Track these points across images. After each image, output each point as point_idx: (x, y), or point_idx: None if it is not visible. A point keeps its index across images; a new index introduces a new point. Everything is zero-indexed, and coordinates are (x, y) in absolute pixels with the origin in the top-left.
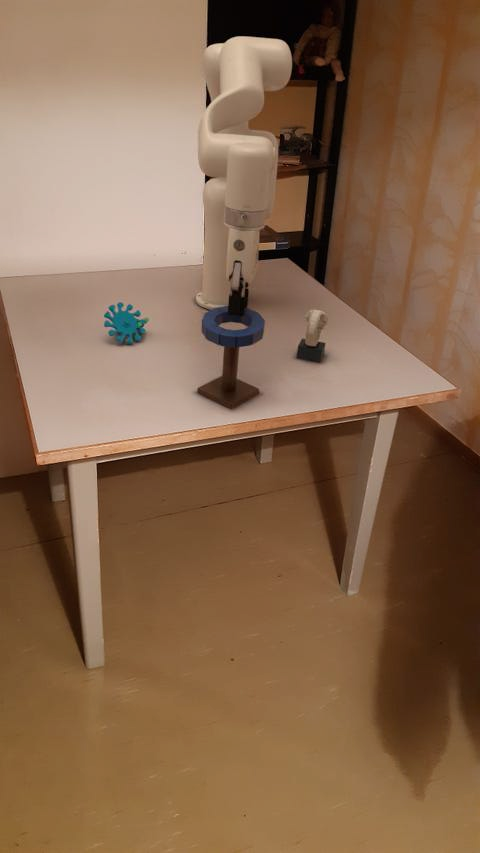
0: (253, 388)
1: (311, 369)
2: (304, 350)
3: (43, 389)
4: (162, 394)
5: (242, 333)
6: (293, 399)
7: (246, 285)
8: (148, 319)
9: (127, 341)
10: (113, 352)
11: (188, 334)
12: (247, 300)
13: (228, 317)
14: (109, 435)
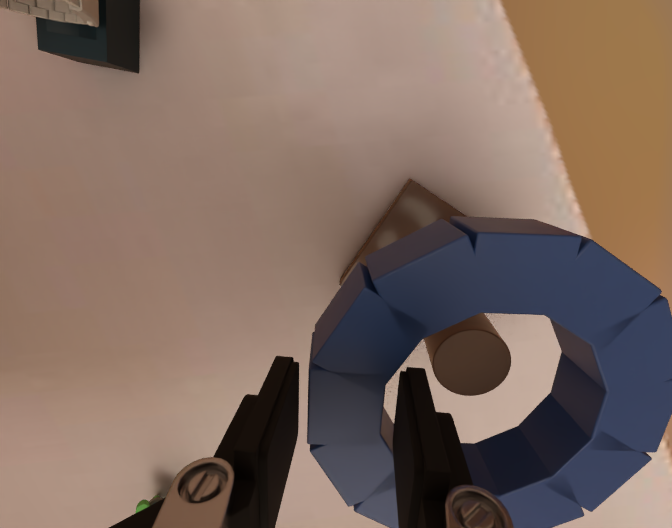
0: (414, 198)
1: (199, 10)
2: (116, 36)
3: None
4: (455, 410)
5: (653, 350)
6: (424, 63)
7: (231, 499)
8: (139, 507)
9: None
10: (279, 521)
11: (122, 391)
12: (279, 388)
13: (383, 420)
14: (650, 481)
